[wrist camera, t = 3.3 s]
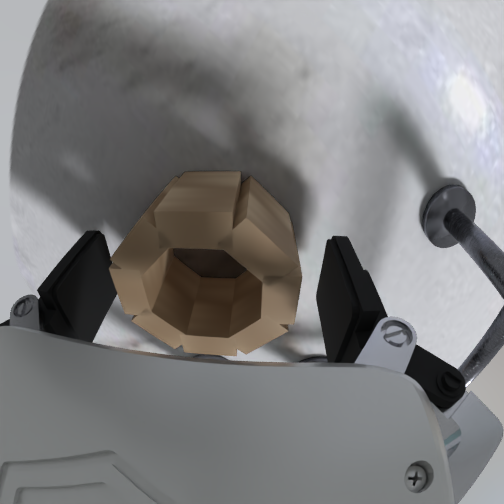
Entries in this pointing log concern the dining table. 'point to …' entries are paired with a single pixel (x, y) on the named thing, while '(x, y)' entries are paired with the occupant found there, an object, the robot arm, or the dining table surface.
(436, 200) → the corner grab bar
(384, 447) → the robot arm
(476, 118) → the dining table surface
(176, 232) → the ring
